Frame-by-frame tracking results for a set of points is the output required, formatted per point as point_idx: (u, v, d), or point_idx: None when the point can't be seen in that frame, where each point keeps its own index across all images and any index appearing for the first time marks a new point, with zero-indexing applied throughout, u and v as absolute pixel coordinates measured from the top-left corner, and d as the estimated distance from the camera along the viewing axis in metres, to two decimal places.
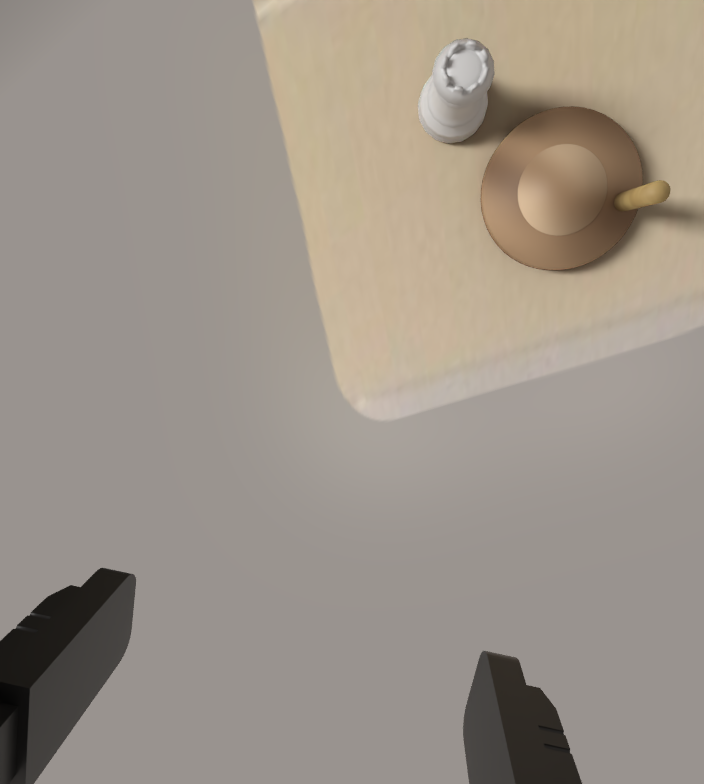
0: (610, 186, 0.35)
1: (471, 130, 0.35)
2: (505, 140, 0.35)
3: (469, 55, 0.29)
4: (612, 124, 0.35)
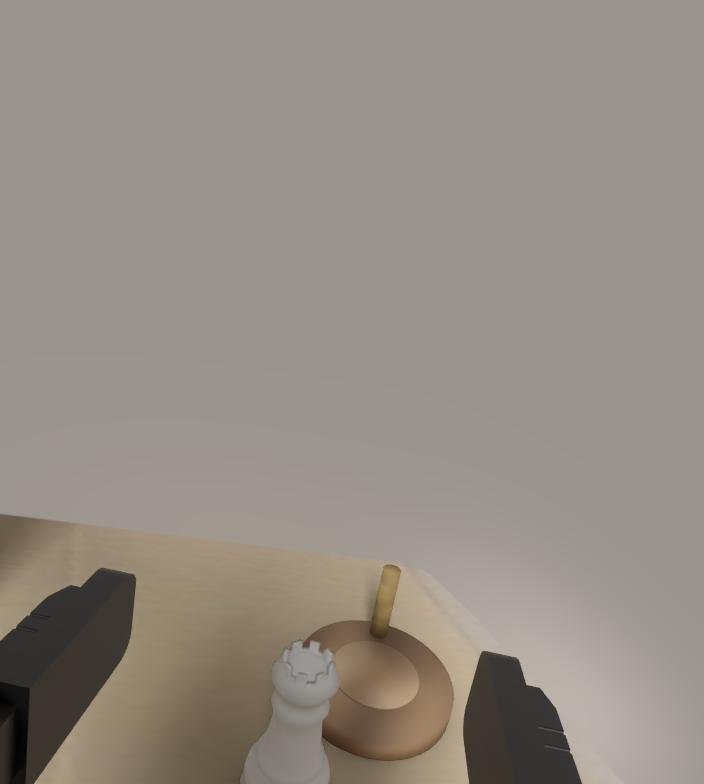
0: (366, 639, 0.38)
1: None
2: (329, 719, 0.31)
3: (295, 659, 0.26)
4: (313, 637, 0.37)
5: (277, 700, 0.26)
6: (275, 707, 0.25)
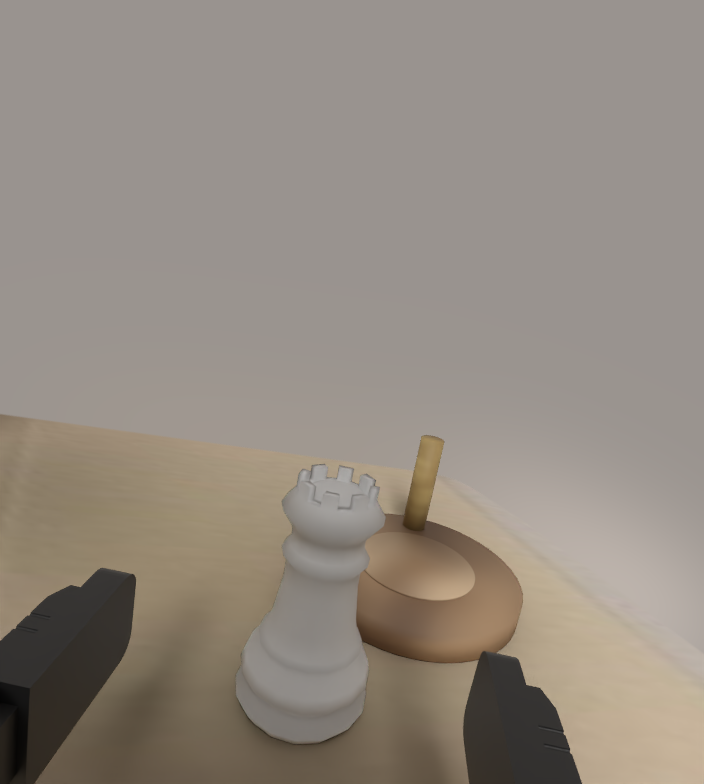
0: (399, 531, 0.29)
1: None
2: (359, 608, 0.22)
3: (318, 484, 0.17)
4: None
5: (291, 544, 0.17)
6: (289, 554, 0.17)
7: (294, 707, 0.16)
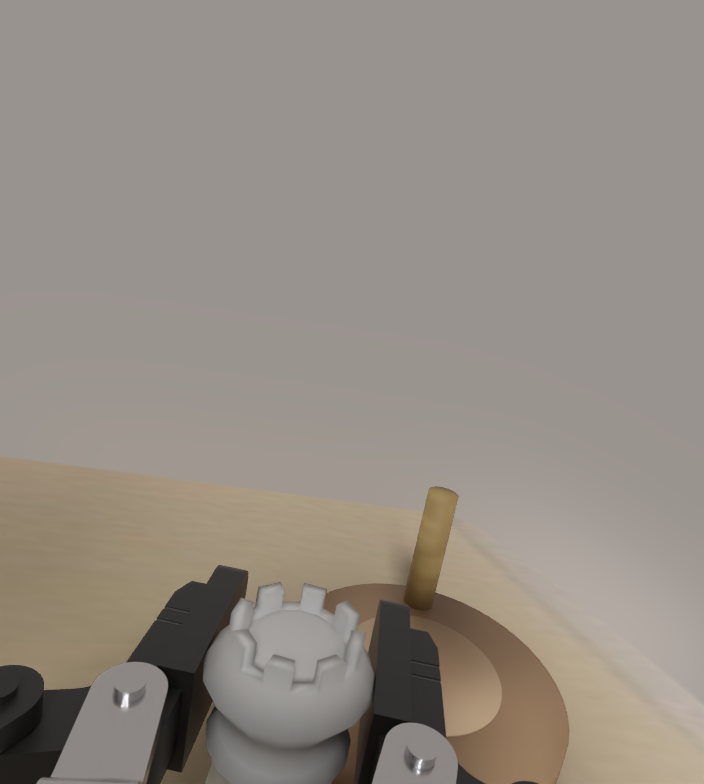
0: None
1: None
2: None
3: (265, 625, 0.10)
4: None
5: (219, 728, 0.10)
6: (214, 747, 0.10)
7: None
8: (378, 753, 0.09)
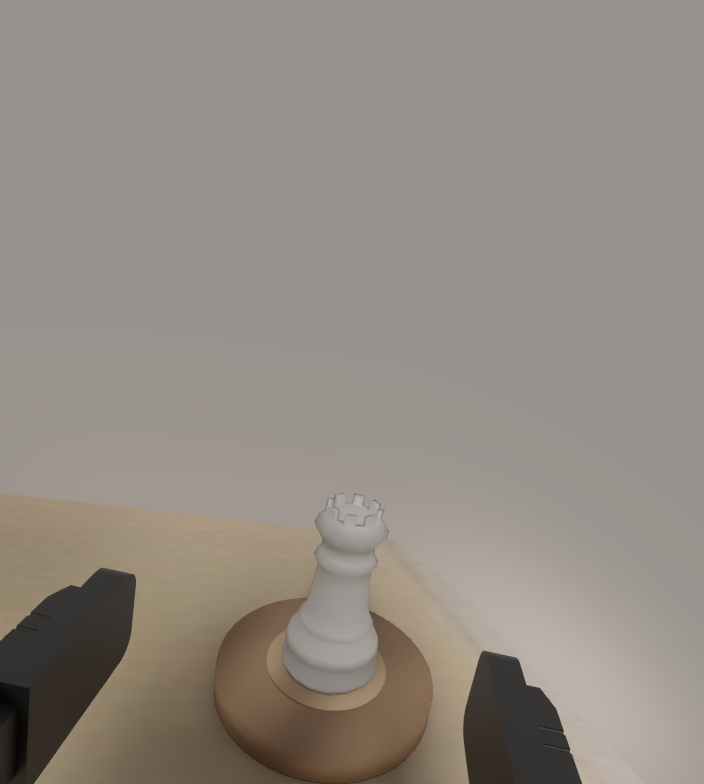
0: None
1: None
2: (252, 726, 0.22)
3: (340, 508, 0.24)
4: (247, 617, 0.28)
5: (322, 551, 0.24)
6: (320, 558, 0.24)
7: (326, 667, 0.23)
8: None
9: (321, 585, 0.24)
